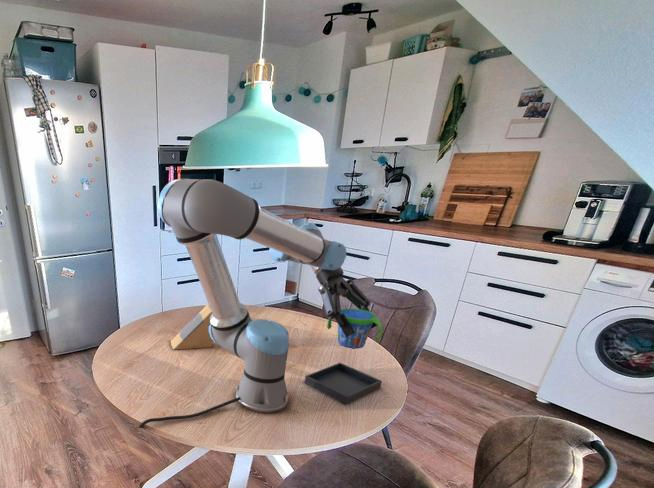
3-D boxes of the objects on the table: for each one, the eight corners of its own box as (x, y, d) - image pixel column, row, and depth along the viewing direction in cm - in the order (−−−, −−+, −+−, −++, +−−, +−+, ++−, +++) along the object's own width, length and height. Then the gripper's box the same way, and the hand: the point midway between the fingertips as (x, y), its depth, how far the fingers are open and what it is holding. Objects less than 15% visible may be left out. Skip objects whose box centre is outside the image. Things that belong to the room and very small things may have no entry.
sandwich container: (170, 340, 156) (169, 305, 150) (207, 338, 158) (208, 303, 152) (172, 349, 148) (172, 312, 142) (212, 347, 150) (213, 310, 144)
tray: (345, 404, 113) (347, 397, 112) (304, 382, 124) (305, 375, 123) (380, 387, 121) (382, 380, 120) (338, 368, 133) (339, 362, 132)
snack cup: (318, 341, 122) (323, 310, 117) (335, 333, 128) (341, 303, 124) (367, 358, 111) (374, 325, 106) (383, 348, 117) (391, 316, 113)
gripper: (341, 270, 129) (375, 328, 124) (293, 280, 118) (328, 344, 112) (358, 257, 123) (395, 318, 117) (309, 266, 112) (347, 333, 106)
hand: (362, 331), depth 115 cm, fingers closed on snack cup, 11 cm apart
